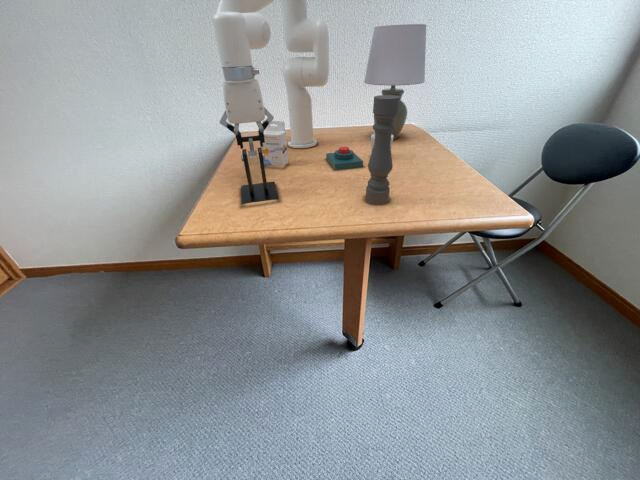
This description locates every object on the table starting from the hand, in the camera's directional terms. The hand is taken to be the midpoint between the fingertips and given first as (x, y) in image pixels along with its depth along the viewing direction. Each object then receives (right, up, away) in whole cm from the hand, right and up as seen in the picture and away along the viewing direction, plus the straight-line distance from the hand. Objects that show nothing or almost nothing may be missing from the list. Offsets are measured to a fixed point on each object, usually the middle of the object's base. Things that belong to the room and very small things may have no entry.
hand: (251, 145), depth 81 cm
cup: (+42, +2, +21) cm, 47 cm away
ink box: (+4, -1, +18) cm, 19 cm away
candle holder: (+36, -17, -6) cm, 40 cm away
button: (+29, +3, +16) cm, 33 cm away
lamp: (+51, +19, +44) cm, 70 cm away
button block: (+29, 0, +18) cm, 34 cm away
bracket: (+3, -15, -2) cm, 15 cm away
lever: (+1, -3, -4) cm, 5 cm away
